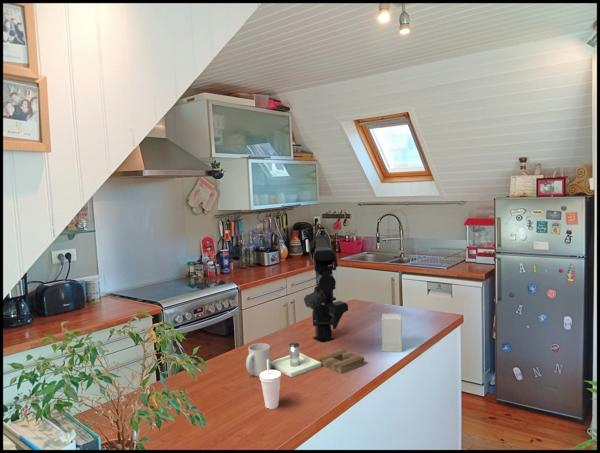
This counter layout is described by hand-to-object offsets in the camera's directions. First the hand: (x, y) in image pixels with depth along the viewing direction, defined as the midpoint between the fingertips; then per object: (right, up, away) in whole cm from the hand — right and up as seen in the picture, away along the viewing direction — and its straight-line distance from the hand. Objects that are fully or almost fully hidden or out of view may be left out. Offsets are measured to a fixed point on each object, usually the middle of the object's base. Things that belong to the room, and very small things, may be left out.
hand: (326, 325), depth 168 cm
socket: (+5, -12, -6) cm, 15 cm away
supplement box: (+25, -10, +7) cm, 28 cm away
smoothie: (-18, -16, -34) cm, 42 cm away
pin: (-11, -12, -6) cm, 18 cm away
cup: (-24, -14, -11) cm, 30 cm away
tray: (-11, -13, -6) cm, 18 cm away
